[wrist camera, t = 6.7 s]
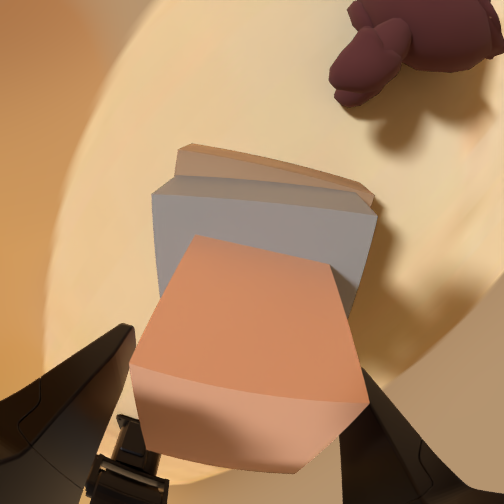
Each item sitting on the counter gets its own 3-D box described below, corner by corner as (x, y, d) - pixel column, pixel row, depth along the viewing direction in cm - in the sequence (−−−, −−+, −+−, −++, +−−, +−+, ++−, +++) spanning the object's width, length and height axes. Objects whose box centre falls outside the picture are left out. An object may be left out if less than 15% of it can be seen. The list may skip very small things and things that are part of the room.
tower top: (322, 328, 16) (328, 368, 13) (182, 315, 16) (168, 353, 13) (355, 192, 12) (377, 215, 9) (176, 175, 12) (151, 194, 10)
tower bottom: (310, 308, 19) (314, 339, 16) (177, 281, 18) (163, 309, 16) (356, 180, 15) (374, 195, 12) (194, 142, 14) (178, 149, 12)
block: (290, 354, 13) (294, 473, 7) (183, 333, 12) (146, 449, 7) (329, 264, 10) (369, 403, 5) (195, 234, 10) (128, 363, 5)
